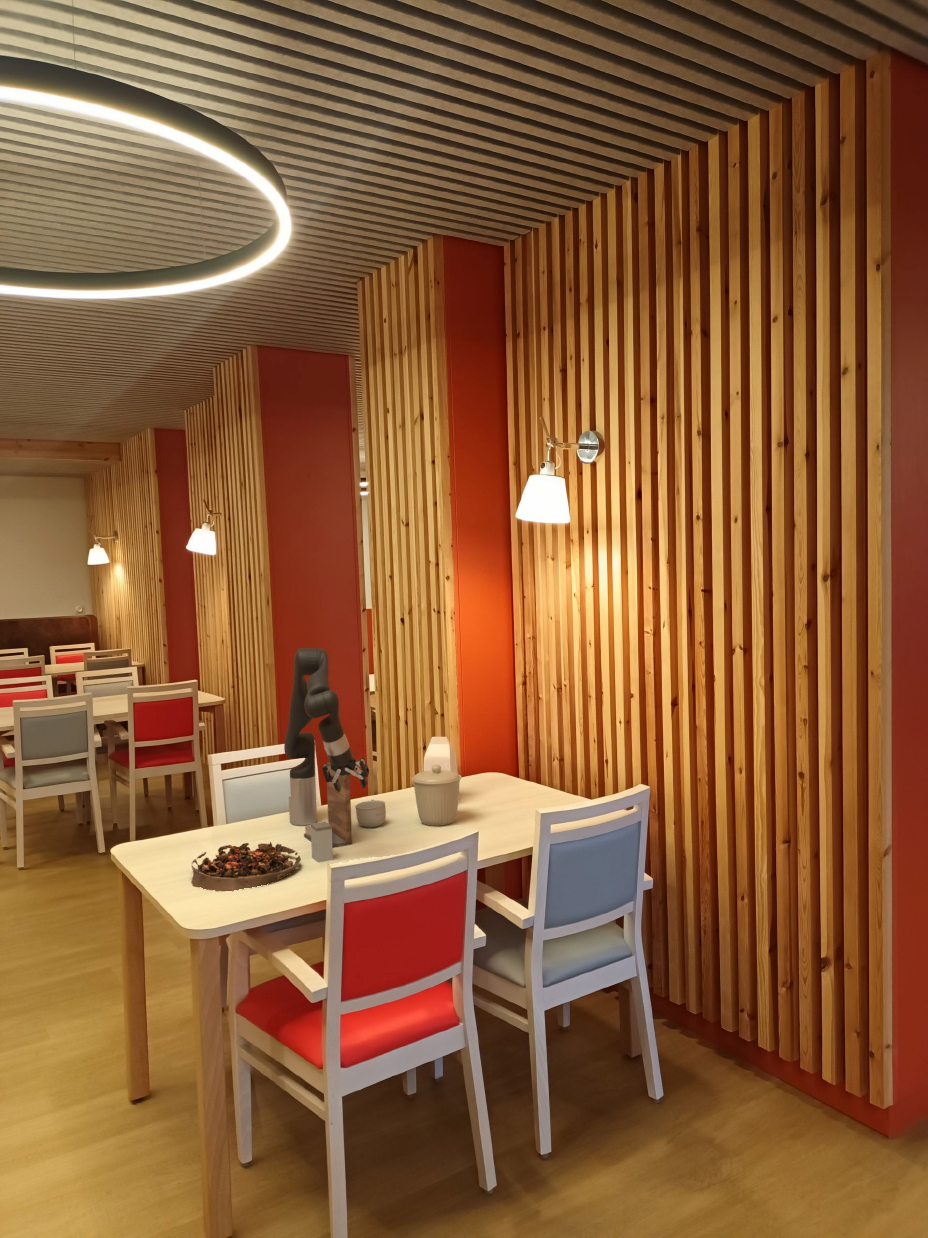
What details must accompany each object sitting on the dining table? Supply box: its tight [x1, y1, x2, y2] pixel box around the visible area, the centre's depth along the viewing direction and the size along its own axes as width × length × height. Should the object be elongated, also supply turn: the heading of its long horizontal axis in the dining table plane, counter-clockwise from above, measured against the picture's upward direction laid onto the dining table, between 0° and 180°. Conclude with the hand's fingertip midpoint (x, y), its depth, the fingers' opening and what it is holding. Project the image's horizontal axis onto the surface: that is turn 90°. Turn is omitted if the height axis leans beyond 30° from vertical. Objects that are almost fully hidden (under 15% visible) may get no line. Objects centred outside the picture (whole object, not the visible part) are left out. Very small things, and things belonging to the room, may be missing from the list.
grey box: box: [310, 821, 334, 863], centre depth 291 cm, size 5×6×11 cm
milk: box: [423, 736, 461, 800], centre depth 358 cm, size 12×12×26 cm
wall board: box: [303, 761, 353, 849], centre depth 311 cm, size 11×18×25 cm, turn 28°
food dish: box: [190, 841, 302, 892], centre depth 281 cm, size 35×33×8 cm
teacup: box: [354, 799, 387, 828], centre depth 330 cm, size 14×11×8 cm
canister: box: [411, 765, 462, 827], centre depth 329 cm, size 18×18×21 cm
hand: (352, 788), depth 293 cm, fingers open, 8 cm apart
